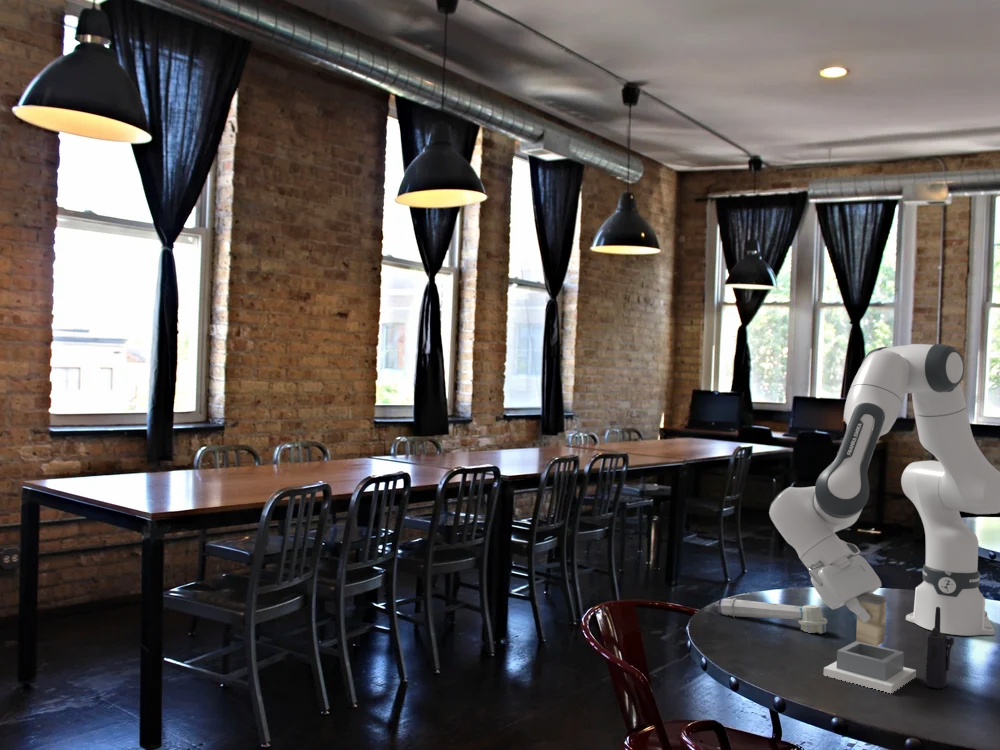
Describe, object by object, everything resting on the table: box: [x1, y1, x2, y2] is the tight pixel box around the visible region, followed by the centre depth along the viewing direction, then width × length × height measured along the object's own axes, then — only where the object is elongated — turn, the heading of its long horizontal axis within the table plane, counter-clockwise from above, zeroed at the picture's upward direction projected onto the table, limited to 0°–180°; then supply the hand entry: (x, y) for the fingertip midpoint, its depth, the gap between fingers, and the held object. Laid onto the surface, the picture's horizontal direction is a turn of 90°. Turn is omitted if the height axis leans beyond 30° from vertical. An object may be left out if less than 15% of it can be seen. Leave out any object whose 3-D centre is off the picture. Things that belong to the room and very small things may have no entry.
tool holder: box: [823, 640, 917, 695], centre depth 174 cm, size 13×13×5 cm
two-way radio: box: [925, 607, 955, 690], centre depth 170 cm, size 6×4×15 cm
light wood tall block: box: [855, 593, 887, 646], centre depth 174 cm, size 4×4×9 cm
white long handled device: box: [717, 597, 828, 634], centre depth 209 cm, size 5×7×25 cm
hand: (874, 617), depth 174 cm, fingers closed on light wood tall block, 4 cm apart
